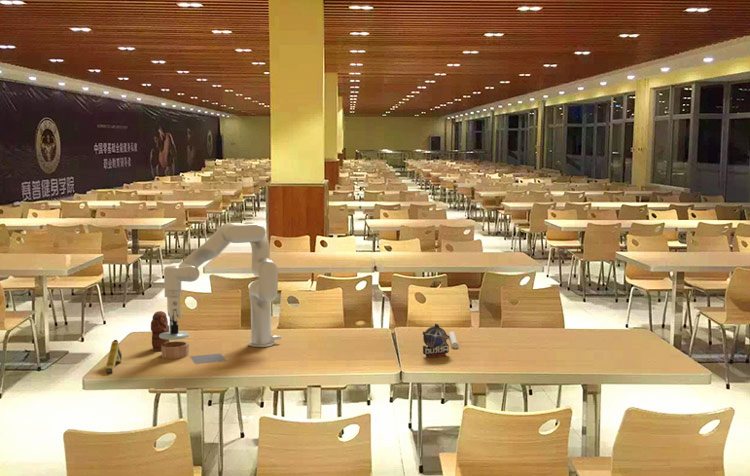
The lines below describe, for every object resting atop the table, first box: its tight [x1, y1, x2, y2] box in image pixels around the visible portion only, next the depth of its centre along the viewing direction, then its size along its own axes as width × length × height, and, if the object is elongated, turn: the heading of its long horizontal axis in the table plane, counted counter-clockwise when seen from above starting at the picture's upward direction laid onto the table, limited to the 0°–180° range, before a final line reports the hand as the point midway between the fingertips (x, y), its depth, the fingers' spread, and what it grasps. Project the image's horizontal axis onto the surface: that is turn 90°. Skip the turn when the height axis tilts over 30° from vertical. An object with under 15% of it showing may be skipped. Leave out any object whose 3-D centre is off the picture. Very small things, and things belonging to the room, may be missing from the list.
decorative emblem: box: [422, 323, 450, 359], centre depth 377 cm, size 12×2×15 cm, turn 108°
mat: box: [189, 353, 228, 365], centre depth 375 cm, size 14×14×1 cm
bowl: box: [160, 340, 190, 360], centre depth 381 cm, size 12×12×6 cm
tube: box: [448, 331, 459, 349], centre depth 405 cm, size 3×3×25 cm
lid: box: [159, 320, 189, 341], centre depth 379 cm, size 13×13×7 cm
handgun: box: [105, 339, 123, 374], centre depth 361 cm, size 2×19×12 cm
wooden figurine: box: [150, 310, 170, 352], centre depth 394 cm, size 12×6×18 cm, turn 175°
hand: (174, 332), depth 380 cm, fingers closed on lid, 3 cm apart
